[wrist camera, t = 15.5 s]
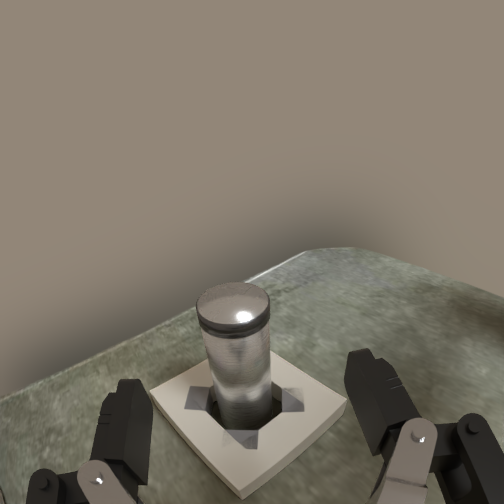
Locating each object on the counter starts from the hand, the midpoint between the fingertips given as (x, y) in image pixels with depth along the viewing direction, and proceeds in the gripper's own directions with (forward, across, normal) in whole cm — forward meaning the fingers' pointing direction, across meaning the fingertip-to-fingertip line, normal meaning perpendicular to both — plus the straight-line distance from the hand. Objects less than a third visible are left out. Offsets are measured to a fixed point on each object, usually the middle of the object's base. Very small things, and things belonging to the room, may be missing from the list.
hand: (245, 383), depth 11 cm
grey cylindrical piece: (+10, 0, +18) cm, 20 cm away
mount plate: (+10, +1, +18) cm, 20 cm away
